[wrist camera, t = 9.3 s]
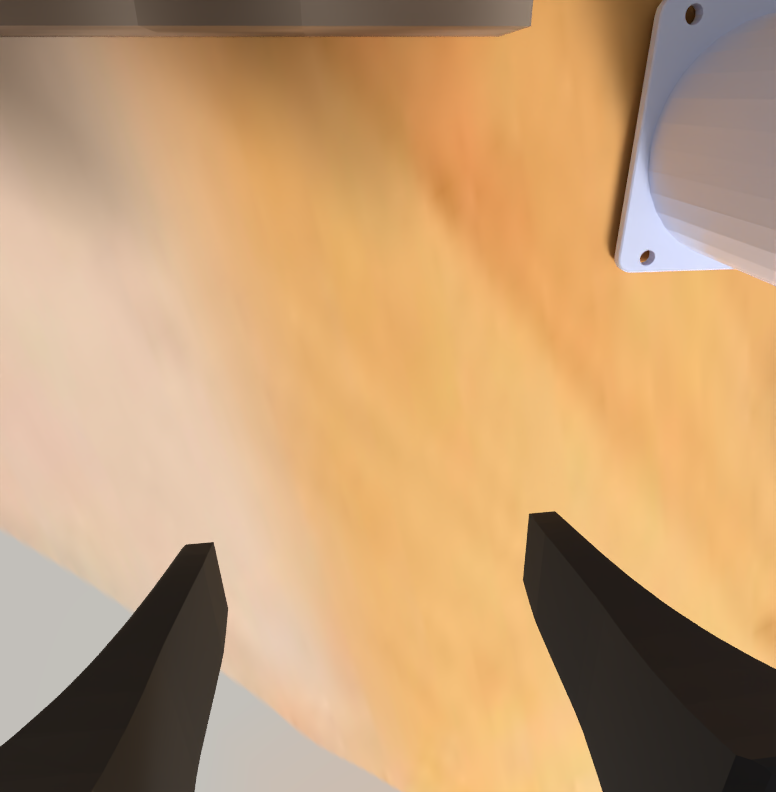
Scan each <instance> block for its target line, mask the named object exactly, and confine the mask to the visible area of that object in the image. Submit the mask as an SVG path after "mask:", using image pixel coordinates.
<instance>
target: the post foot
mask: <svg viewBox="0 0 776 792" xmlns="http://www.w3.org/2000/svg"><path fill="white" fill-rule="evenodd" d="M532 6H533V0H0V37H171V36H502V35H505V34H508V33H511V32H514V31H517V30H520V29H523V28H527V27H530V26H531V18H532Z"/></svg>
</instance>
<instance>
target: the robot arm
mask: <svg viewBox="0 0 776 792" xmlns="http://www.w3.org/2000/svg"><path fill="white" fill-rule="evenodd" d="M690 6H693V7H694V9H695V18H694V21H693V22H692V23H691V24H688V23H687V21H686V20H685V14H686V11H687V9H688V8H689V7H690ZM647 250H649V257H648V259H647V260H646V261H645V262H642V263H640V257H641V254H642V253H643V252H645V251H647ZM615 263H616V265H617V267H619V268H620V269H621V270H623V271H625V272H660V271H689V270H718V269H737V270H739V271H741V272H744V273H746V274H748V275H751V276H753V277H755V278H758V279H760V280H762V281H765V282H767V283H769V284H772V285H774V286H776V0H663V1H662V2H661V3H660V5H659V6H658V7H657V10H656V13H655V17H654V23H653V29H652V35H651V41H650V47H649V53H648V59H647V65H646V71H645V77H644V83H643V89H642V95H641V101H640V107H639V113H638V119H637V125H636V131H635V137H634V143H633V149H632V155H631V161H630V167H629V173H628V179H627V185H626V191H625V197H624V203H623V209H622V215H621V221H620V227H619V233H618V239H617V245H616V251H615ZM523 582H524V585H525V589H526V592H527V596H528V599H529V602H530V606H531V609H532V612H533V615H534V618H535V621H536V624H537V626H538V629H539V631H540V633H541V636H542V638H543V640H544V642H545V645H546V647H547V649H548V652H549V654H550V656H551V658H552V661H553V663H554V665H555V667H556V670H557V672H558V674H559V676H560V679H561V681H562V683H563V685H564V688H565V690H566V692H567V695H568V697H569V699H570V701H571V704H572V706H573V708H574V710H575V713H576V715H577V718H578V720H579V723H580V725H581V728H582V730H583V733H584V736H585V739H586V742H587V745H588V748H589V751H590V754H591V757H592V760H593V763H594V766H595V769H596V772H597V775H598V778H599V781H600V784H601V788H602V791H603V792H776V669H774V668H772V667H770V666H769V665H767V664H765V663H763V662H761V661H759V660H757V659H755V658H753V657H751V656H749V655H748V654H746V653H744V652H742V651H740V650H739V649H737V648H735V647H733V646H732V645H730V644H728V643H726V642H724V641H723V640H721V639H719V638H718V637H716V636H714V635H713V634H711V633H709V632H708V631H706V630H704V629H703V628H701V627H700V626H698V625H697V624H695V623H693V622H692V621H690V620H689V619H687V618H686V617H684V616H683V615H681V614H680V613H678V612H677V611H675V610H674V609H672V608H671V607H669V606H668V605H667V604H665V603H664V602H662V601H661V600H659V599H658V598H657V597H656V596H654V595H653V594H652V593H650V592H649V591H648V590H646V589H645V588H644V587H642V586H641V585H640V584H638V583H637V582H636V581H634V580H633V579H632V578H631V577H629V576H628V575H627V574H626V573H624V572H623V571H622V570H621V569H620V568H618V567H617V566H616V565H615V564H614V563H612V562H611V561H610V560H609V559H608V558H607V557H605V556H604V555H603V554H602V553H601V552H600V551H598V550H597V549H596V548H595V547H594V546H593V545H592V544H591V543H589V542H588V541H587V540H586V539H585V538H584V537H583V536H582V535H581V534H579V533H578V532H577V531H576V530H575V529H574V528H573V527H572V526H571V525H570V524H568V523H567V522H566V521H565V520H564V519H563V518H562V517H561V516H560V515H558V514H557V513H556V512H543V513H532V514H529V521H528V532H527V543H526V554H525V565H524V576H523ZM227 615H228V606H227V602H226V597H225V593H224V588H223V583H222V579H221V574H220V570H219V565H218V560H217V556H216V551H215V547H214V542H211V543H200V544H188V545H185V546H184V547H183V548H182V549H181V551H180V552H179V554H178V555H177V556H176V558H175V559H174V561H173V562H172V563H171V565H170V566H169V567H168V569H167V570H166V572H165V573H164V574H163V576H162V577H161V578H160V580H159V581H158V582H157V584H156V585H155V587H154V588H153V589H152V591H151V592H150V593H149V594H148V596H147V597H146V598H145V600H144V601H143V602H142V603H141V605H140V606H139V607H138V608H137V610H136V611H135V612H134V614H133V615H132V616H131V617H130V619H129V620H128V621H127V622H126V624H125V625H124V626H123V627H122V628H121V630H120V631H119V632H118V633H117V634H116V635H115V636H114V637H113V639H112V640H111V641H110V642H109V643H108V644H107V646H106V647H105V648H104V649H103V650H102V651H101V653H100V654H99V655H98V656H97V657H96V658H95V659H94V660H93V661H92V663H90V665H89V666H88V667H87V668H86V669H85V670H84V671H83V672H82V673H81V674H80V675H79V676H78V677H77V678H76V679H75V680H74V681H73V682H72V683H71V684H70V685H69V686H68V687H67V688H66V689H65V690H64V691H63V692H62V693H61V694H60V695H59V696H58V697H57V698H56V699H55V700H54V701H52V702H51V703H50V704H49V705H48V706H47V707H46V708H45V709H43V711H41V712H40V713H39V714H38V715H37V716H36V717H34V718H33V719H32V720H31V721H30V722H29V723H28V724H27V725H25V726H24V727H23V728H22V729H21V730H20V731H19V732H17V733H16V734H15V735H14V736H13V737H12V738H10V739H9V740H8V741H7V742H5V743H4V744H3V745H2V746H0V792H194V790H195V783H196V776H197V771H198V765H199V760H200V755H201V750H202V746H203V742H204V737H205V733H206V729H207V724H208V720H209V715H210V711H211V707H212V702H213V698H214V694H215V689H216V685H217V680H218V676H219V671H220V667H221V662H222V658H223V653H224V644H225V636H226V626H227Z"/></svg>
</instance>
